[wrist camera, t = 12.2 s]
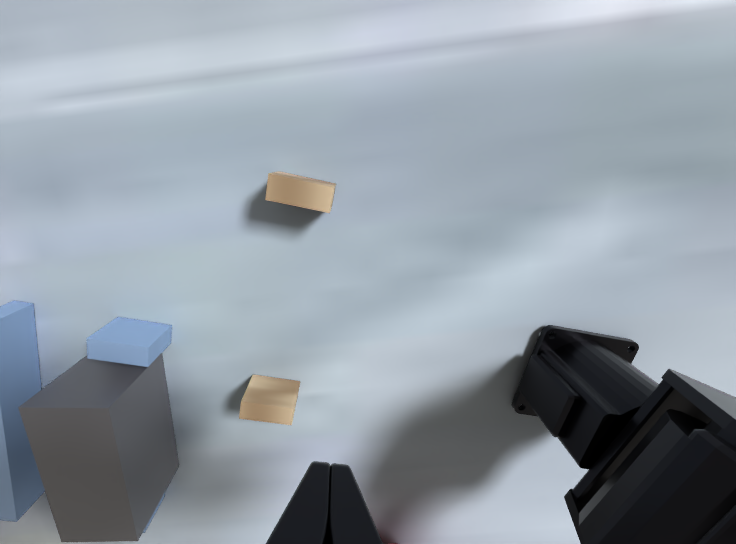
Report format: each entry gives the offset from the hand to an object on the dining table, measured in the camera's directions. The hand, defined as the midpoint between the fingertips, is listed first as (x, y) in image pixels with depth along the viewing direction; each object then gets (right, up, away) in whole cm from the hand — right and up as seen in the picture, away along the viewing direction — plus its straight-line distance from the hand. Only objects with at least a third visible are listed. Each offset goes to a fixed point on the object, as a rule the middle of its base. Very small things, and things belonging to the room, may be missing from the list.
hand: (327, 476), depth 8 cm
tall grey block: (-14, -4, +14) cm, 21 cm away
